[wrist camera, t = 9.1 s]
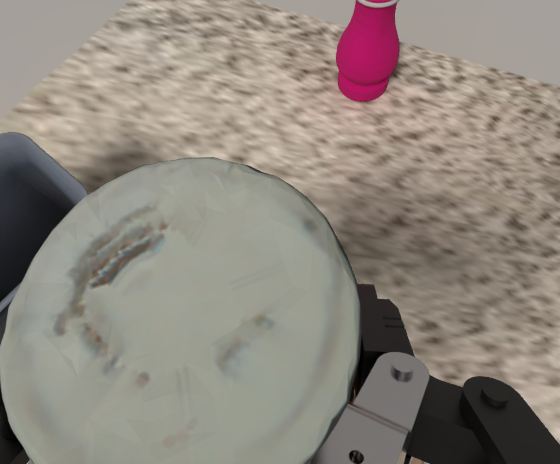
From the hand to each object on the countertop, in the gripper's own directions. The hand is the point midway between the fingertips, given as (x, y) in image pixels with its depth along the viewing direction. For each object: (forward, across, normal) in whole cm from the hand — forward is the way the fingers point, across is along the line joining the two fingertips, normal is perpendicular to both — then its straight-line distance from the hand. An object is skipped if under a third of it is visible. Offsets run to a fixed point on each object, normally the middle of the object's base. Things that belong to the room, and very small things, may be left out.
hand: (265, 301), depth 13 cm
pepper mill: (+41, -7, -7) cm, 42 cm away
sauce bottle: (+6, 0, +9) cm, 11 cm away
